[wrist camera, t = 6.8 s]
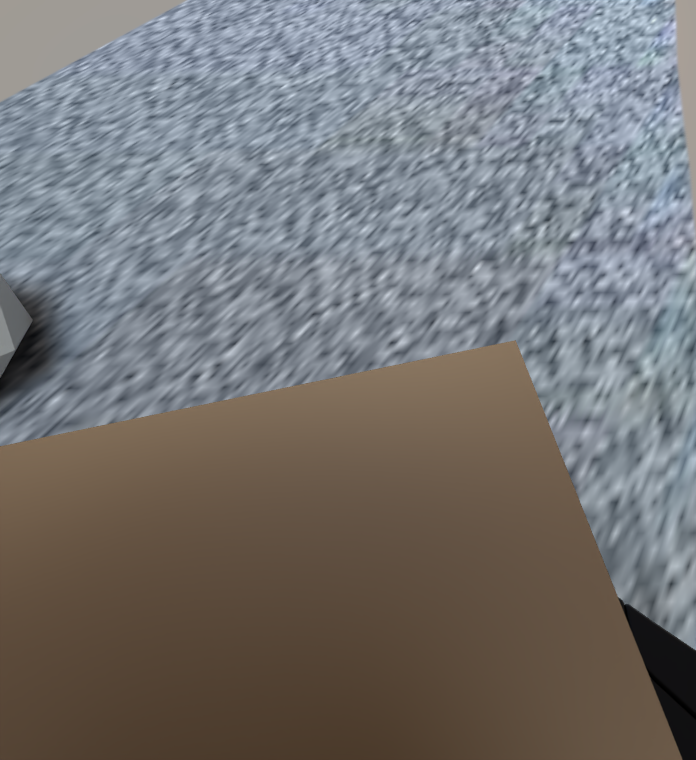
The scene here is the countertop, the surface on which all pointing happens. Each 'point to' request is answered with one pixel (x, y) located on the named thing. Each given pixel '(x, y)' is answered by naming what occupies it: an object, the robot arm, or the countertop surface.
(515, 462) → the walnut block
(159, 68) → the countertop surface
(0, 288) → the die
